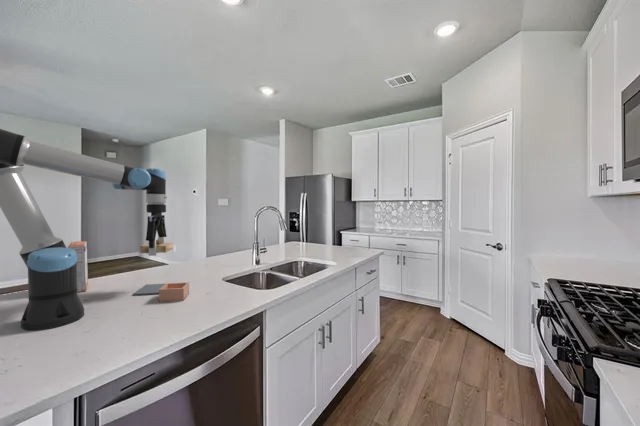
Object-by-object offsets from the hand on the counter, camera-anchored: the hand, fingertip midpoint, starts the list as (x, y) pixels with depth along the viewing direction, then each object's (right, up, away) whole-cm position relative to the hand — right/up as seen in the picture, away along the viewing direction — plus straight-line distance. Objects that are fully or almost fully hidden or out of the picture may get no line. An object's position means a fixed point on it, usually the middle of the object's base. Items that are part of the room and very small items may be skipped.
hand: (157, 253), depth 126 cm
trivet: (0, -17, 0) cm, 17 cm away
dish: (+13, -17, -10) cm, 24 cm away
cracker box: (-36, -17, +1) cm, 40 cm away
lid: (0, +1, 0) cm, 1 cm away
